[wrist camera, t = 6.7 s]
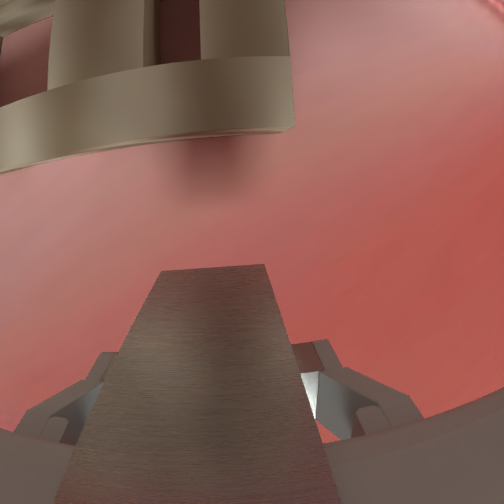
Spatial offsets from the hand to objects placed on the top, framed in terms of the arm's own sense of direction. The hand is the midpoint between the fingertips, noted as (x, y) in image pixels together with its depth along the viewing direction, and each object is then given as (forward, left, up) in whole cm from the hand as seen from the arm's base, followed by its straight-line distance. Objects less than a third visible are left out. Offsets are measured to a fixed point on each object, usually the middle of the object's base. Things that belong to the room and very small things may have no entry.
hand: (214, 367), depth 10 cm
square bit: (0, 0, -4) cm, 4 cm away
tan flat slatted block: (+6, -14, -9) cm, 18 cm away
